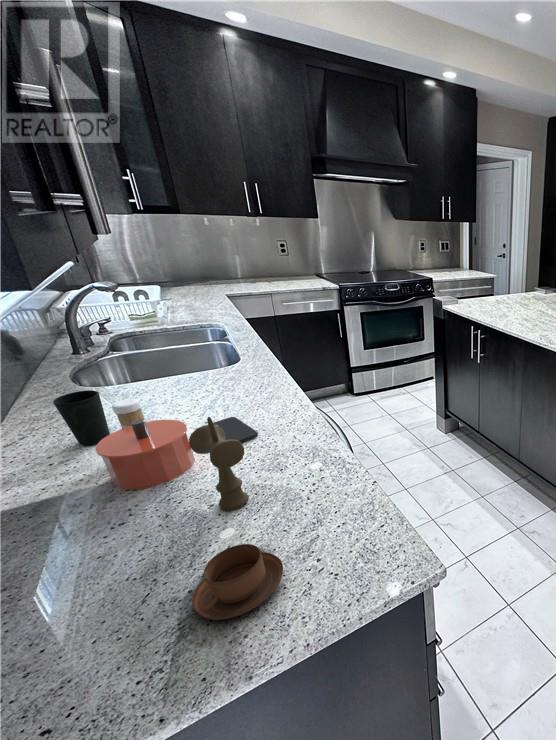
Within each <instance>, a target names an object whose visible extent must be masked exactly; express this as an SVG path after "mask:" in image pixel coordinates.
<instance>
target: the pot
mask: <svg viewBox="0 0 556 740" xmlns="http://www.w3.org/2000/svg"><path fill="white" fill-rule="evenodd" d="M101 459H102V461H103V463H104V466H105V467H106V470H107V472H108V475H109V476H110V479H111V482H112V483H113V486H115V487H116V488H119V489H121V490H134V491H135V490H142V489H147V488H153V487H155V486H159V485H162V484H165V483H167V482H170V481H172V480H174V479H176V478H179V477H180V476H182V475H184V474H185V473H186V472H187V471H189V470H190V469H191V468H192V467H193V465H194V463H195V461H196V458H195V456H194V451H193V450H192V449H191V447H190V445H189V437H188V434H187V432H186V433H185V434H184V436H182V437H181V438H180V439H179V440H177V441H176V442H174V443H172V444H170V445H168V446H166V447H164V448H161V449H159V450H156V451H153V452H149V453H146V454H142V455H138V456H132V457H125V458H107V457H102V456H101Z"/></svg>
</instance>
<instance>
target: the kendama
mask: <svg viewBox="0 0 556 740" xmlns="http://www.w3.org/2000/svg"><path fill="white" fill-rule="evenodd" d="M206 422H207V424H204V425H201V426H199V427H198V428H195V430H193V432H191V434H190V436H189V437H188V440H189V445H190V447H191V449H192V452H193V453H195V454H197V455H207V454H209V461H210V463H211V464H212V466H214V467H215V468H216V469H217V472H218V483H216V485H215V490H216V491H217V493H219V494H220V499H219V502H218V506H219V508H220V509H222V510H223V511H232V510H236V509H239V508H240V507H242V506H244V505H245V504H246V503H248V501H249V499H250V496H249V494H248V493H247V492H245V491H244V490H243V488H242V486H243V480H242V479H241V478H239V477H237V476H236V475H235V472H234V471H233V469H232V467H234V466H236V465H237V464H239V463H240V462H241V461H242V460H243V458H244V456H245V447H244V445H243V442H239V441H238V440H225V432H224V430H223V428H221V427H220V426H218V425H214V424H213V423H214V421H213V419H212V417H210V416H208V417H207V418H206Z"/></svg>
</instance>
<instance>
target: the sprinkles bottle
mask: <svg viewBox="0 0 556 740" xmlns="http://www.w3.org/2000/svg"><path fill="white" fill-rule="evenodd" d="M111 407H112V411H113V412H114V414H115V415H116V417H117V419H118V422H119V424H120V428H121V429H123V428H126V427H129V426H131V422H133V421H136V420H141V419H142V420H145V422H147V419H146V418H145V415H144V412H143V410H142V405H141V402H140V400H139V399H138V398H124V399H121V400H118V401H116V402H114V403H112V405H111Z"/></svg>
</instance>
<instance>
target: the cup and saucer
mask: <svg viewBox="0 0 556 740" xmlns="http://www.w3.org/2000/svg"><path fill="white" fill-rule="evenodd" d="M283 574H284V565H283V562H282V560H281V559H280V557H278V556H277V555H275V554H274V553H270V552H265V551H261V549H260V548H259V546H257V545H255V544H252V543H251V544H250V543H242V544H237V545H233V546H229V547H227V548H225V549H223V550H222V551H220V552H218V553H217V554H215V555H214V556H213V557H212V558H211V559H210V560H209V561H208V562H207V564H206V565H205V567H204V569H203V578H202V579H201V581H200V582H199V583H198V585H197V586H196V587H195V589H194V592H193V593H192V599H191V605H192V608H193V610H194V611H195V613H196V614H197V615H199V616H200V617H202V618H204V619H207V620H211V621H212V620H213V621H220V620H227V619H231V618H236V617H238V616H240V615H243V614H245V613H247V612H250V611H251V610H253V609H255V608H256V607H258V606H259V605H261V604H263V602H265V601H267V599H268V598H269V597H270V596H271V595H272V594H273V593H274V592H275V591H276V589H278V587H279V585H280V583H281V581H282V578H283Z"/></svg>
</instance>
